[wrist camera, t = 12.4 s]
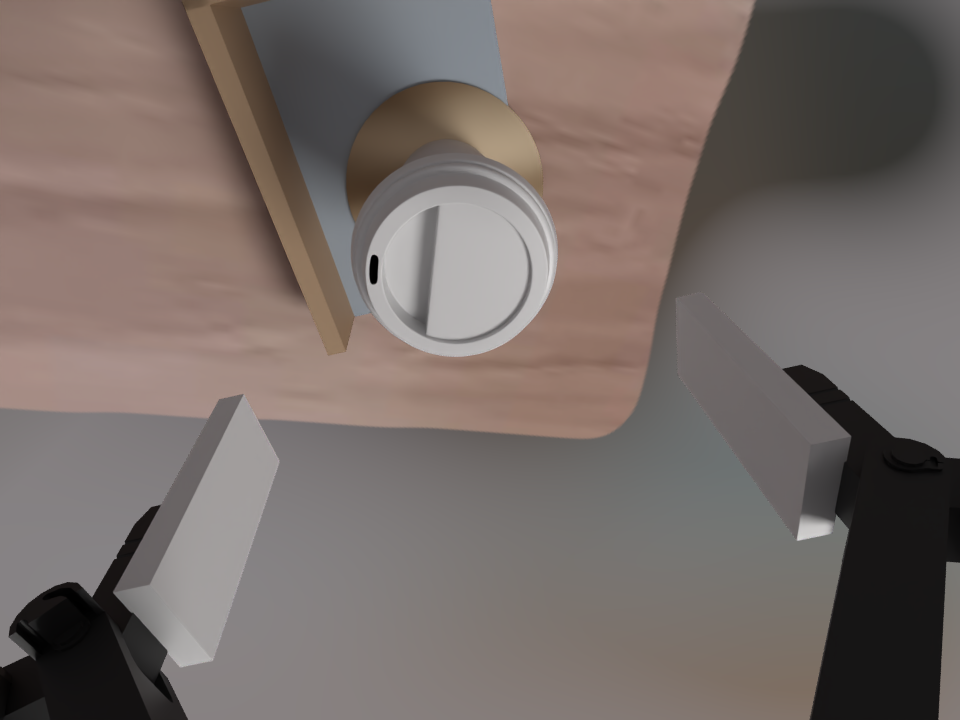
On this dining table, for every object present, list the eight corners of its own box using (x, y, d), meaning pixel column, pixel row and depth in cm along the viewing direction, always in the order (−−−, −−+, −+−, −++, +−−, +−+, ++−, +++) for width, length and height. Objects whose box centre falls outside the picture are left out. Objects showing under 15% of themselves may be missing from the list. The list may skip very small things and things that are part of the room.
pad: (317, 108, 34) (316, 109, 34) (525, 58, 33) (526, 59, 33) (380, 297, 41) (380, 299, 40) (554, 258, 40) (555, 259, 40)
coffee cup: (415, 80, 33) (407, 114, 20) (546, 162, 36) (611, 235, 23) (350, 218, 37) (310, 319, 24) (473, 281, 40) (495, 400, 27)
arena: (215, -12, 31) (173, -19, 26) (476, -77, 30) (486, -99, 25) (340, 315, 42) (328, 355, 37) (534, 271, 41) (549, 305, 36)
